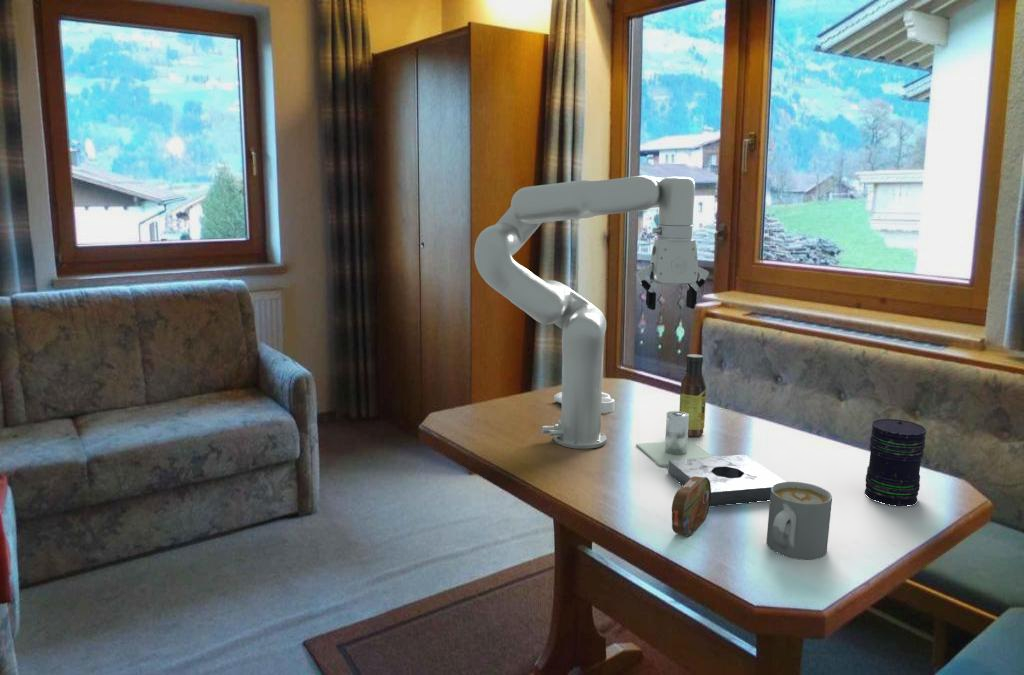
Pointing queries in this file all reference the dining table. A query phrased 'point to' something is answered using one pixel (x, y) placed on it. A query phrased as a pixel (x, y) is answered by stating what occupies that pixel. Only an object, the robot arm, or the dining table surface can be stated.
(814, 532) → the coffee mug
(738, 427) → the dining table surface
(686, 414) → the aluminium plug
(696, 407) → the sauce bottle
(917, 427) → the storage jar
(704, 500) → the tin
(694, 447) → the sage mat
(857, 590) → the dining table surface
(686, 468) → the plate
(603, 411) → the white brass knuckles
